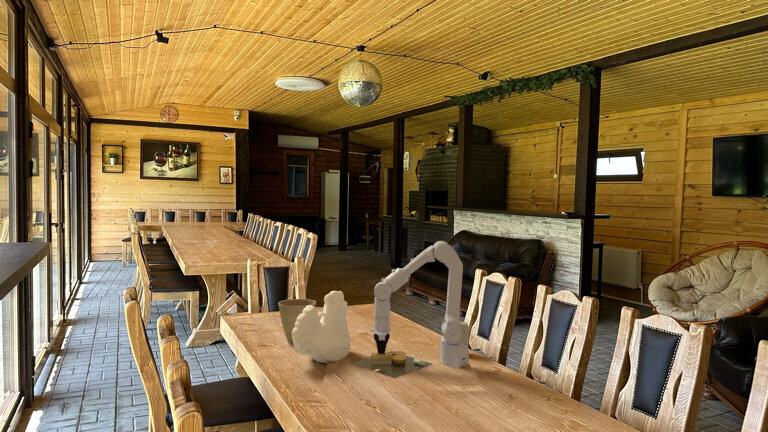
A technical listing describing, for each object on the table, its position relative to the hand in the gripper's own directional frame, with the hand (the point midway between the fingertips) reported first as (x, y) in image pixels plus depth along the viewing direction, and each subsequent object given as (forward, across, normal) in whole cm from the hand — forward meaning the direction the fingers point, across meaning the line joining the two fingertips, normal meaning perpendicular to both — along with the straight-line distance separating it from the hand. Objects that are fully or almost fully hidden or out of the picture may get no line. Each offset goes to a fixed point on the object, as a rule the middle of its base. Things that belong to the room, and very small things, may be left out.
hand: (381, 354), depth 182 cm
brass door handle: (+2, +3, +2) cm, 4 cm away
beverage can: (+4, -13, +30) cm, 33 cm away
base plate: (+3, +3, +4) cm, 6 cm away
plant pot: (+4, -27, -34) cm, 43 cm away
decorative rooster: (+4, -3, -22) cm, 23 cm away
